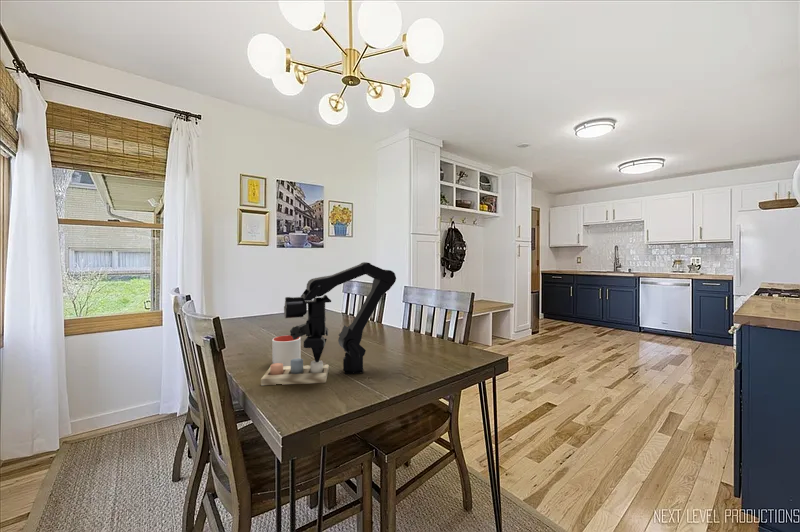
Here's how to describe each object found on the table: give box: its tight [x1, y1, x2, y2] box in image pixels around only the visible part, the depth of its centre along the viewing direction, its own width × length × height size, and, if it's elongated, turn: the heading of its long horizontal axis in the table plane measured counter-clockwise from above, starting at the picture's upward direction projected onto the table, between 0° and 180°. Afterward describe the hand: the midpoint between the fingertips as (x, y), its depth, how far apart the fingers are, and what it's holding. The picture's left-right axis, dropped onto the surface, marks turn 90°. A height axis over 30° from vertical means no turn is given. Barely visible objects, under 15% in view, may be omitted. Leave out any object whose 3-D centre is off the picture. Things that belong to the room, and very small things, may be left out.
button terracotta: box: [269, 363, 283, 375], centre depth 114 cm, size 4×4×4 cm
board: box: [260, 364, 330, 386], centre depth 115 cm, size 20×12×2 cm, turn 97°
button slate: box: [291, 358, 304, 374], centre depth 115 cm, size 4×4×4 cm
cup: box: [271, 334, 302, 366], centre depth 128 cm, size 10×10×10 cm
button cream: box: [310, 359, 324, 373], centre depth 116 cm, size 4×4×4 cm
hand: (317, 361), depth 116 cm, fingers closed, pressing on button cream
